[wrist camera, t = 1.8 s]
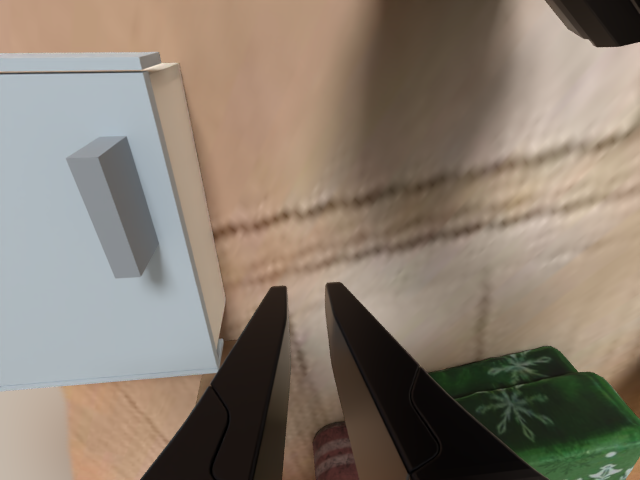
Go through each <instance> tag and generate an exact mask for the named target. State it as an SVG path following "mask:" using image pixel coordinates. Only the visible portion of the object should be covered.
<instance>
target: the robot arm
mask: <svg viewBox="0 0 640 480" xmlns="http://www.w3.org/2000/svg"><path fill="white" fill-rule="evenodd" d="M545 1H546V2H547V4H548V5H549V6H550V7H551V8H552V10H553V11H554V12H555V13H556V15H557V16H558V17H559V18H560V20H561V21H562V22H563V23H564V25H565V26H566V27H567V28H568V29H569V30H570V31H572V32H574V33H575V34H577V35H578V36H580V37H582V38H583V39H589V40H590V42H591V43H592V44H593V45H594V46H595V47H619V46H624V45H628V44H633V43H637V42H640V0H545ZM325 313H326V322H327V331H328V339H329V348H330V357H331V364H332V369H333V373H334V378H335V382H336V386H337V390H338V394H339V398H340V402H341V406H342V410H343V415H344V419H345V423H346V427H347V431H348V435H349V439H350V443H351V448H352V452H353V456H354V460H355V464H356V468H357V472H358V476H359V480H550V479H548V478H547V477H545V476H544V475H542V474H541V473H539V472H538V471H537V470H535V469H534V468H533V467H531V466H530V465H529V464H528V463H526V462H525V461H524V460H523V459H522V458H520V457H519V456H518V455H517V454H516V453H515V452H513V451H512V450H511V449H510V448H509V447H508V446H507V445H505V444H504V443H503V442H502V441H501V440H500V439H498V438H497V437H496V436H495V435H494V434H493V433H492V432H490V431H489V430H488V429H487V428H486V427H485V426H483V425H482V424H481V423H480V422H479V421H478V420H477V419H475V418H474V417H473V416H472V415H471V414H470V413H468V412H467V411H466V410H465V409H464V408H463V407H462V406H461V405H460V404H459V403H457V402H456V401H455V400H454V399H453V398H452V397H451V396H450V395H449V394H448V393H447V392H446V391H445V390H444V389H443V388H442V387H441V386H440V385H439V384H438V383H437V382H436V381H435V380H434V379H433V378H432V377H431V376H430V375H429V374H428V373H427V372H426V371H425V370H424V369H423V368H422V367H420V365H419V364H418V363H417V362H416V361H415V360H414V359H413V357H412V356H411V355H410V354H409V353H408V352H407V351H406V350H405V349H404V348H403V347H402V346H401V345H400V344H399V343H398V342H397V341H396V340H395V339H394V337H393V336H392V335H391V334H390V333H389V332H388V331H387V330H386V329H385V328H384V327H383V326H382V325H381V324H380V323H379V322H378V321H377V320H376V319H375V317H374V316H373V315H372V314H371V313H370V312H369V311H368V310H367V309H366V308H365V307H364V306H363V305H362V304H361V303H360V302H359V301H358V300H357V299H356V298H355V296H354V295H353V294H352V293H351V292H350V291H349V290H348V289H347V288H346V287H345V286H344V285H343V284H342V283H341V282H332V283H327V284H326V286H325ZM419 367H420V368H419ZM290 375H291V354H290V331H289V309H288V295H287V287H286V286H273V287H271V288H270V289H269V291H268V293H267V294H266V296H265V297H264V299H263V300H262V302H261V304H260V305H259V307H258V308H257V310H256V312H255V313H254V315H253V316H252V318H251V319H250V321H249V323H248V324H247V326H246V327H245V329H244V331H243V332H242V334H241V335H240V337H239V338H238V340H237V342H236V343H235V345H234V346H233V348H232V350H231V351H230V353H229V354H228V356H227V357H226V359H225V361H224V362H223V364H222V365H221V367H220V369H219V370H218V372H217V373H216V375H215V376H214V378H213V380H212V381H211V383H210V386H208V387H207V389H206V390H205V392H204V394H203V395H202V397H201V398H200V400H199V402H198V403H197V405H196V406H195V407H194V409H193V410H192V412H191V413H190V415H189V416H188V418H187V419H186V421H185V422H184V424H183V425H182V426H181V428H180V429H179V430H178V432H177V433H176V434H175V436H174V437H173V438H172V440H171V441H170V442H169V443H168V445H167V446H166V447H165V449H164V450H163V451H162V452H161V454H160V455H159V456H158V458H157V459H156V460H155V461H154V463H153V464H152V465H151V466H150V468H149V469H148V470H147V472H146V473H145V474H144V475H143V477H142V478H141V479H140V480H282V472H283V460H284V448H285V436H286V424H287V412H288V400H289V388H290Z"/></svg>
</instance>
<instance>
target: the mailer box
mask: <svg viewBox="0 0 640 480" xmlns="http://www.w3.org/2000/svg"><path fill="white" fill-rule="evenodd" d="M105 71H148V72H149V76H150V80H151V85H152V89H153V93H154V97H155V101H156V105H157V109H158V113H159V117H160V121H161V125H162V130H163V134H164V138H165V142H166V146H167V150H168V154H169V158H170V162H171V166H172V170H173V175H174V179H175V183H176V187H177V191H178V195H179V199H180V203H181V207H182V211H183V216H184V220H185V224H186V228H187V232H188V236H189V240H190V244H191V248H192V252H193V256H194V261H195V265H196V269H197V273H198V277H199V281H200V285H201V289H202V293H203V297H204V301H205V306H206V310H207V314H208V318H209V322H210V326H211V330H212V334H213V338H214V342H215V346H216V349H217V344H218V339H219V334H220V329H221V323H222V318H223V313H224V308H225V303H226V298H225V293H224V288H223V282H222V277H221V272H220V267H219V262H218V257H217V252H216V247H215V242H214V237H213V232H212V227H211V222H210V217H209V212H208V207H207V202H206V197H205V192H204V187H203V182H202V177H201V172H200V166H199V161H198V156H197V151H196V146H195V141H194V136H193V131H192V126H191V121H190V116H189V111H188V106H187V101H186V96H185V91H184V86H183V81H182V76H181V71H180V66H179V63H160V64H158V65H155V66H152V67H149V68H146V69H143V70H88V71H1V72H0V73H20V72H105Z"/></svg>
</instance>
